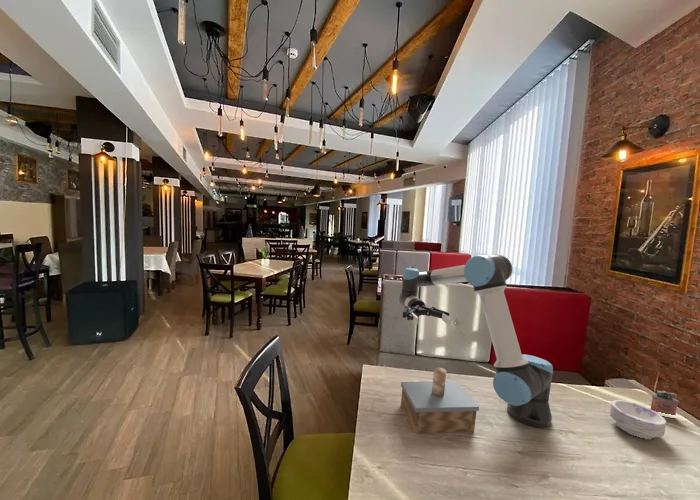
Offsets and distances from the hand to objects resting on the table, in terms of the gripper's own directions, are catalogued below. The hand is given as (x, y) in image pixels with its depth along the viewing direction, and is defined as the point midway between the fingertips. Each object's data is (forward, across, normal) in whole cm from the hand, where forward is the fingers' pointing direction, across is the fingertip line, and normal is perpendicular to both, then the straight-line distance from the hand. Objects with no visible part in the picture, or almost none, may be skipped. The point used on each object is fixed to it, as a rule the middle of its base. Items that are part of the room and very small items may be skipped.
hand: (433, 321), depth 123 cm
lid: (+10, 0, -26) cm, 27 cm away
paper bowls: (+20, -74, -34) cm, 84 cm away
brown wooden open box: (+10, 0, -34) cm, 35 cm away
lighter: (+12, -98, -34) cm, 104 cm away
